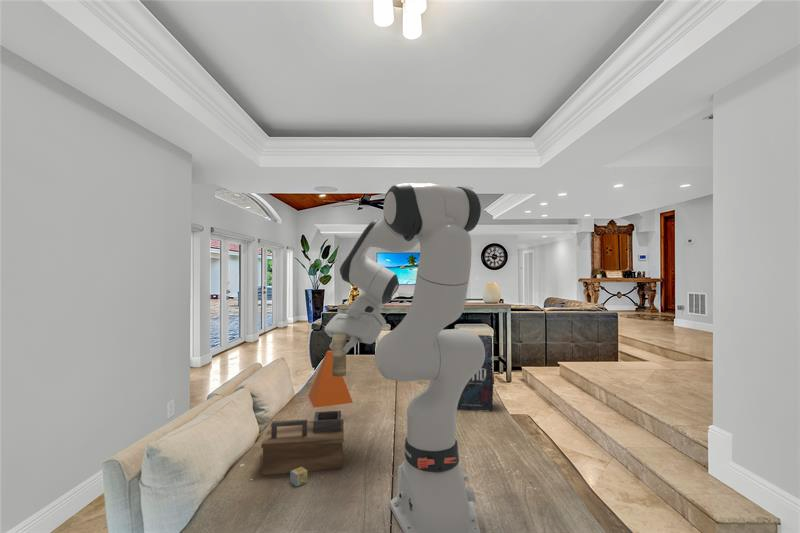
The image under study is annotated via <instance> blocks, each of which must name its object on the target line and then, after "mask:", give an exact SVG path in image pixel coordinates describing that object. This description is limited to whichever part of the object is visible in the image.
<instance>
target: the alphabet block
mask: <svg viewBox="0 0 800 533" xmlns="http://www.w3.org/2000/svg"><path fill="white" fill-rule="evenodd" d="M289 474H290V484H292V485H293V486H295V487H296V488H297V487H300V486H302V485H304V484H306V483H308V471H307V470H306V469H304V468H303V467H300V468H297V469H295V470H292V471H291V472H290V473H289Z"/></svg>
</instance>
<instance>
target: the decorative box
mask: <svg viewBox="0 0 800 533" xmlns="http://www.w3.org/2000/svg"><path fill="white" fill-rule="evenodd" d="M477 335H478V336H479V338H480V339H481V341H482V343H483V345H484V348H485V360H484V363H483V366H482V368H481V369H480V370H479V371H478V372H477V373H476V374H475V375H474V376H473V377H472V378H471V379H470V380H469V382H468V383H467V384H466V386H465V388H464V390H463V392H462V394H461V396H460V399H459V402H458V406H457V410H460V409H461V411H462V410H463V411H478V410H489V411H488V412H491V411H490V410H492V411H493V400H494V397H493V396H494V380H493V366H492V337H491V335H489V334H488V335H487V334H486V335H485V334H484V335H483V334H477Z"/></svg>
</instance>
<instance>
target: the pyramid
mask: <svg viewBox="0 0 800 533" xmlns="http://www.w3.org/2000/svg"><path fill="white" fill-rule="evenodd" d="M320 364H321V365H320V367H319V369H318V371H317V374H316V376H315V378H314V381H313V383H312V385H311V388H310V390H309V392H308V395H307V396H308V398H309V401H310V402H311V406H312V408H315V409H316V408H321V407H329V406H337V405H338V406H339V405H345V404H352V403H353V402H354V401H353V400H352V396H351V394H350V392H349V389H348V386H347V384H346V382H345V379H344V376H339V377H337V376H333V375H332V350H326V353H325V354H324V357H323V360H322V362H321V363H320Z"/></svg>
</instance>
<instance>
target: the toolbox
mask: <svg viewBox="0 0 800 533" xmlns="http://www.w3.org/2000/svg"><path fill="white" fill-rule="evenodd" d="M313 418H314V419H313V420H310V421H309V420H308V419H291V420H277V421H276V420H273V421H272V422H271V424H270V425H269V427H268V429H267V431H266V434H265V436H264V438H263V440H262V442H261V443H260V444H261V445H260V446H261V447H260V448H261V449H262V475H263V476H264V475H278V474H290V472H291V471H292V470H295V469H297V468H300V467H303V468H304V469H306V470H307V472H313V471H314V472H315V471H316V472H317V471H328V470H340V469H342V470H343V456H344V455H343V452H344V451H343V449H344V447H343V443H344V441H345V436H344V434H345V432H344V431H345V430H344V427H345V426H344V423H345V422H344V421H345V420H344V418H342V411H341V410H327V411H324V410H323V411H315V412H314V417H313Z"/></svg>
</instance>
